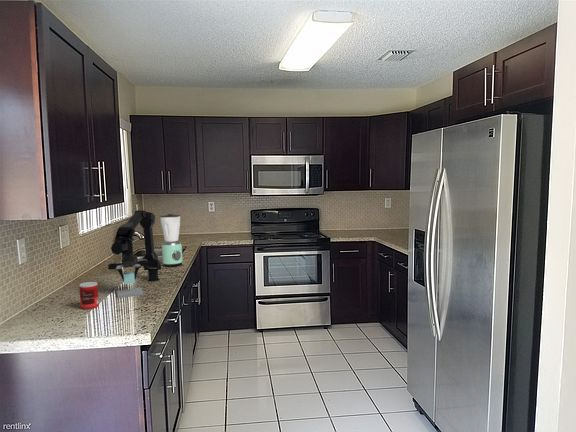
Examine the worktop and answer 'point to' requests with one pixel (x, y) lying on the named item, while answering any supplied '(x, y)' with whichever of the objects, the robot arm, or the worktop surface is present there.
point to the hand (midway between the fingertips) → (129, 280)
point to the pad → (129, 292)
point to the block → (129, 277)
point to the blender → (171, 240)
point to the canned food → (89, 295)
